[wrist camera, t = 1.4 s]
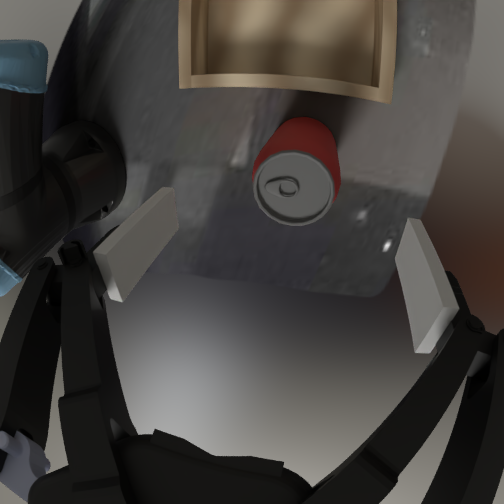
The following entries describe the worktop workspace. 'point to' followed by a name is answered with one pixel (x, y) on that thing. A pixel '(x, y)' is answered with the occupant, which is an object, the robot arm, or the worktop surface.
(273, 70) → the crate
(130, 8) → the worktop surface
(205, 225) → the worktop surface
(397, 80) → the worktop surface
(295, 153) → the beer can
